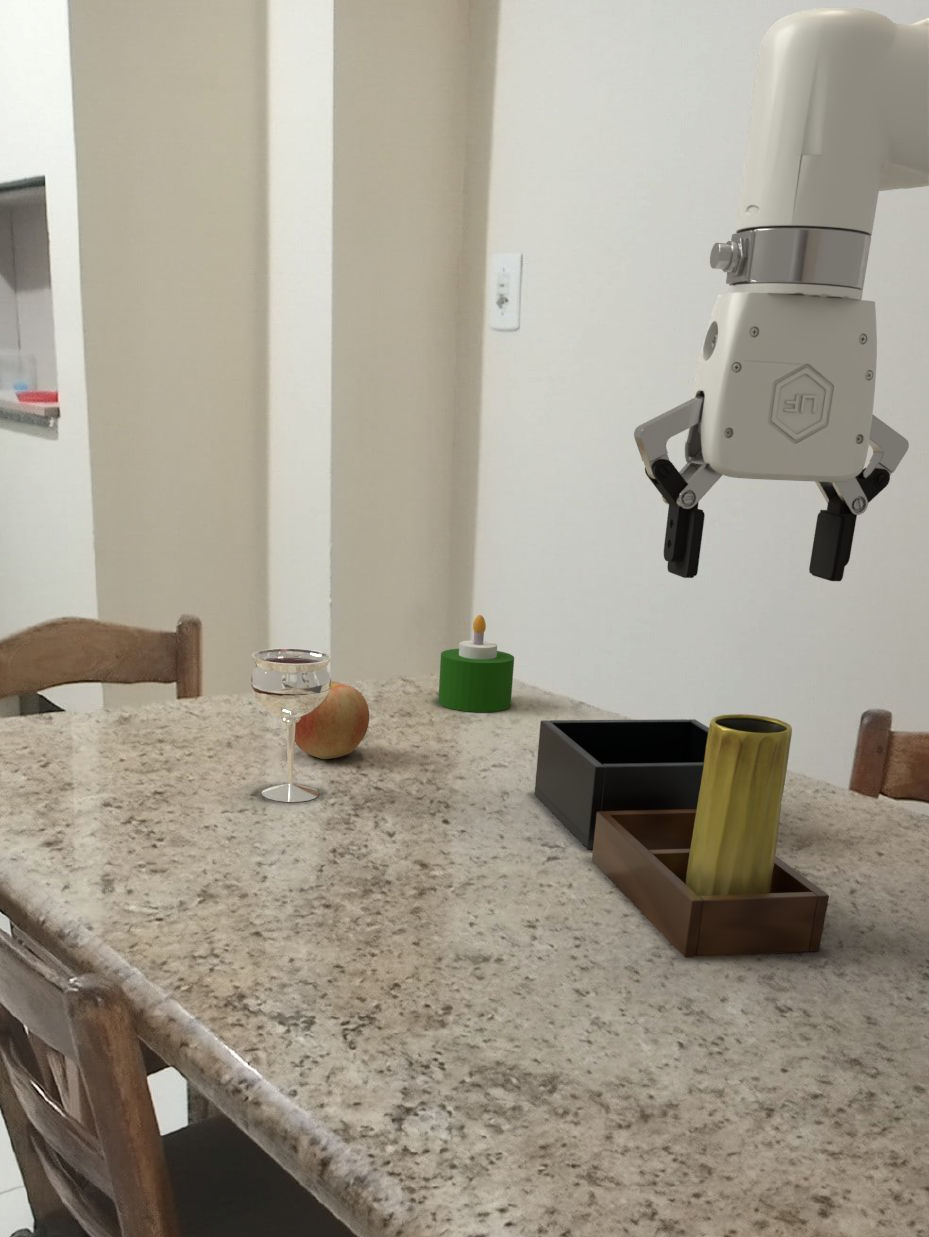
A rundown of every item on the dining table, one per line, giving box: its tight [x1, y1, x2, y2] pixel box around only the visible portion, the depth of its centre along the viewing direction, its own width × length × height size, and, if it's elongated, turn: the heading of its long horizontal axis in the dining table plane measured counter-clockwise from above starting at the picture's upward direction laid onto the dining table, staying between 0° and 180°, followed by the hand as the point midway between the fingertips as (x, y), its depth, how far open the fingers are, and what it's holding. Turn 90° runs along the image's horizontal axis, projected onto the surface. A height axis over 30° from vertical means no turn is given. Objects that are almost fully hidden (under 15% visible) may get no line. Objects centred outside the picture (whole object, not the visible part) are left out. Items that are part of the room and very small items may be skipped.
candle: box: [437, 614, 515, 713], centre depth 146 cm, size 8×8×10 cm
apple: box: [295, 681, 370, 760], centre depth 124 cm, size 8×8×8 cm
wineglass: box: [250, 647, 332, 803], centre depth 111 cm, size 7×7×12 cm
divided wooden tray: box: [591, 809, 830, 958], centre depth 93 cm, size 10×18×4 cm, turn 12°
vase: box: [686, 713, 793, 896], centre depth 87 cm, size 6×6×14 cm
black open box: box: [534, 718, 709, 850], centre depth 110 cm, size 15×15×7 cm
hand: (754, 576), depth 81 cm, fingers open, 9 cm apart
